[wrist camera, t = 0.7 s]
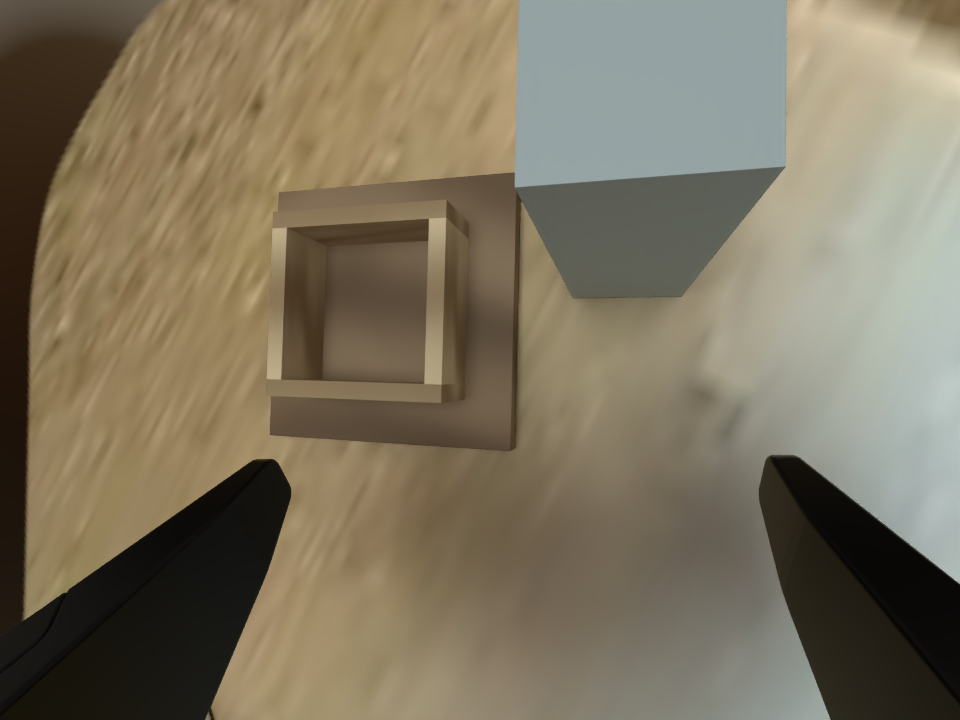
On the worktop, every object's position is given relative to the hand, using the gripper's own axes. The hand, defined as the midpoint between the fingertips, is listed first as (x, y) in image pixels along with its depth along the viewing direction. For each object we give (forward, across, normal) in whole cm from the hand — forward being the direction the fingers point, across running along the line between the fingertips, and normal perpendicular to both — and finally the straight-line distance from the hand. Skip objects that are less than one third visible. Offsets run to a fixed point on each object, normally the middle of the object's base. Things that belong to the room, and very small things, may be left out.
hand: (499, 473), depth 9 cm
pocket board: (+14, +7, +4) cm, 16 cm away
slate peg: (+14, -4, +2) cm, 15 cm away
